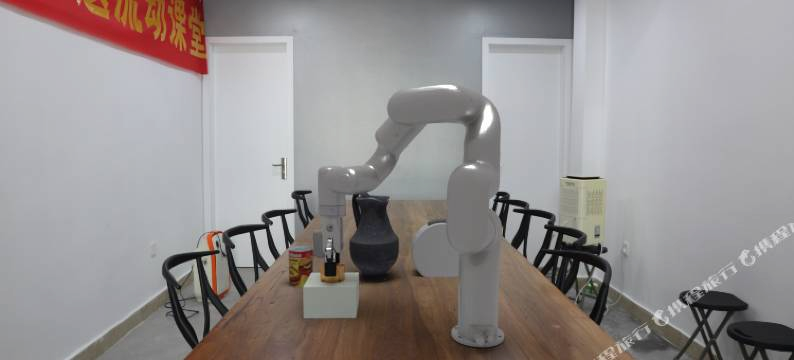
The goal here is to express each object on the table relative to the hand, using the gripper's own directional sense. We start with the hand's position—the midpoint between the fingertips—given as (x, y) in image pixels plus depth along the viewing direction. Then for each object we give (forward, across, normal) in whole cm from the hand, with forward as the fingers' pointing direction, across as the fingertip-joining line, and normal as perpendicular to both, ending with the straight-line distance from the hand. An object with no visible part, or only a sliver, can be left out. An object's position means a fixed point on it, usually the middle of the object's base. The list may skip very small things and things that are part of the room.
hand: (332, 271), depth 131 cm
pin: (+10, 0, 0) cm, 10 cm away
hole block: (+11, 0, 0) cm, 11 cm away
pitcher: (+11, +32, -10) cm, 35 cm away
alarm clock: (+11, +35, -35) cm, 51 cm away
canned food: (+11, +24, +13) cm, 29 cm away
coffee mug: (+11, +63, +10) cm, 65 cm away
